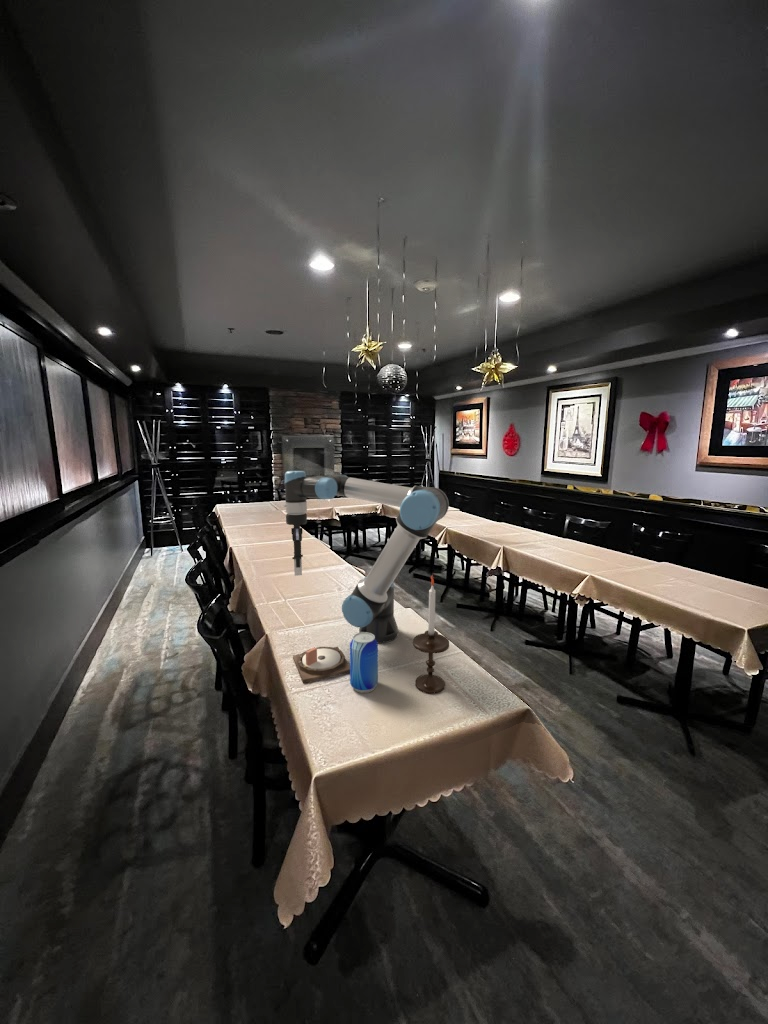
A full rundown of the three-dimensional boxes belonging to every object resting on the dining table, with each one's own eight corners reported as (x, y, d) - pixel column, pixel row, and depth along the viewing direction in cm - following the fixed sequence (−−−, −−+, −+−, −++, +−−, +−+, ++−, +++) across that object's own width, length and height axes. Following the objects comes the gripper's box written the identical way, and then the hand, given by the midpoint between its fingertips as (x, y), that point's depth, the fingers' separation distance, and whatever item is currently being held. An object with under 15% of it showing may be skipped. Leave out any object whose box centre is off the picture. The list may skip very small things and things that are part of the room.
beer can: (367, 697, 117) (367, 646, 114) (344, 688, 121) (344, 639, 119) (383, 683, 124) (383, 635, 122) (360, 675, 128) (360, 628, 126)
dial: (323, 648, 143) (322, 632, 142) (348, 660, 135) (348, 644, 134) (294, 662, 133) (293, 646, 132) (319, 676, 125) (319, 659, 124)
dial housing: (337, 649, 145) (337, 642, 144) (352, 672, 130) (352, 664, 130) (292, 658, 138) (292, 650, 138) (302, 683, 124) (302, 674, 123)
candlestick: (411, 674, 129) (413, 569, 123) (445, 675, 129) (448, 570, 123) (413, 695, 118) (415, 581, 113) (450, 696, 118) (453, 581, 112)
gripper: (285, 510, 153) (287, 570, 157) (285, 516, 141) (288, 581, 145) (305, 510, 155) (307, 569, 159) (307, 515, 142) (309, 579, 146)
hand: (298, 574), depth 152 cm, fingers closed
